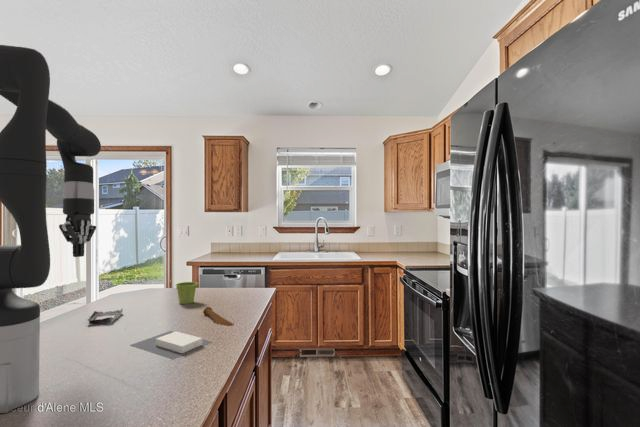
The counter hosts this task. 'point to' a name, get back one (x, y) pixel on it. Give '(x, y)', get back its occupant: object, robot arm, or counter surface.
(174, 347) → the cream white block
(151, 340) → the rubber mat
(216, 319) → the primitive tool
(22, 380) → the robot arm
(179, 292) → the plant pot
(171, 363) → the counter surface
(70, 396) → the counter surface
